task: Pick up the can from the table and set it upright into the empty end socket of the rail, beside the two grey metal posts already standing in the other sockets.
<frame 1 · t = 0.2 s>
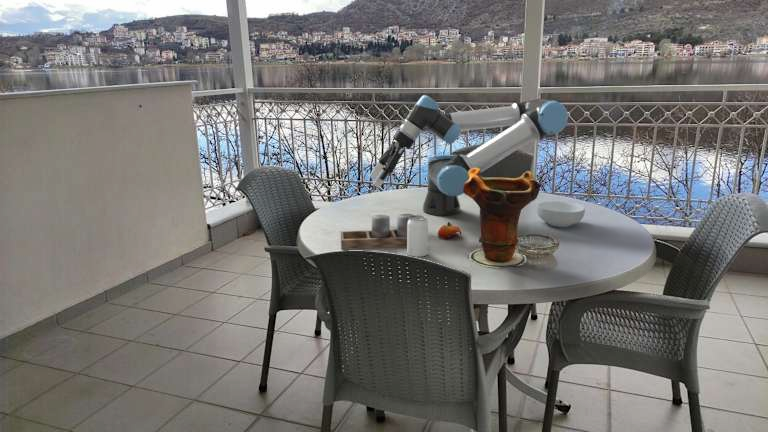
hand: (373, 182, 196), 16 cm above the table, tool tilted 35°, fingers open, 13 cm apart
cereal bowl: (559, 224, 198), on the table
tomato: (449, 237, 184), on the table
can: (417, 254, 167), on the table
decorative vase: (496, 258, 164), on the table
socket rail: (380, 242, 178), on the table
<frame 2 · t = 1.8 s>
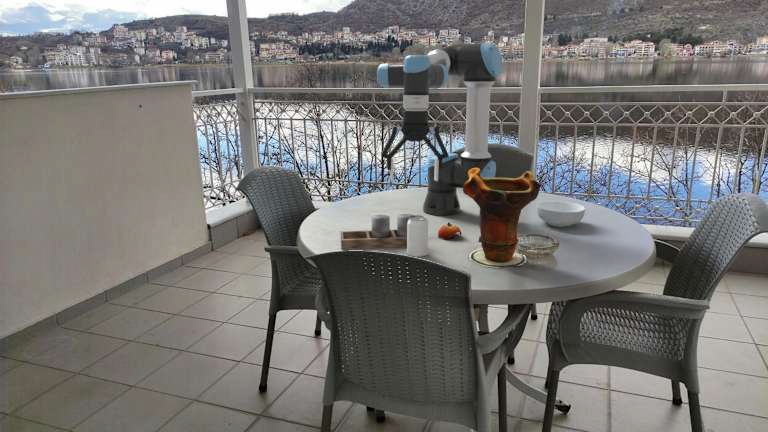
hand: (414, 180, 162), 24 cm above the table, tool pointing down, fingers open, 13 cm apart
nothing on the table moved.
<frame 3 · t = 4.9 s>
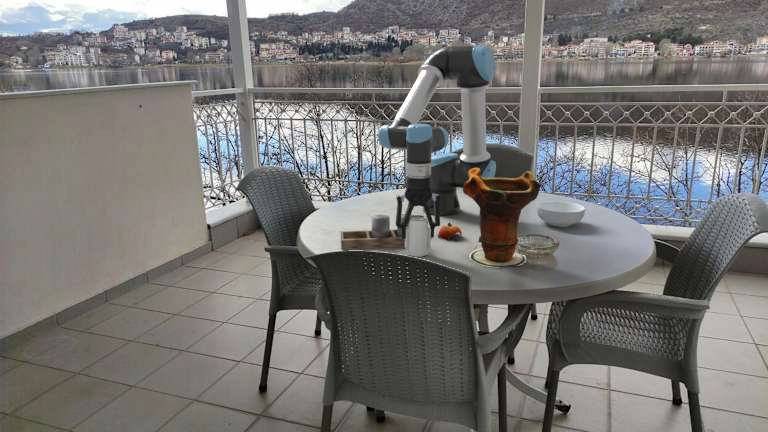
hand: (417, 247, 167), 2 cm above the table, tool pointing down, fingers closed on can, 6 cm apart
can: (417, 254, 167), on the table, touching gripper
everything else where it was.
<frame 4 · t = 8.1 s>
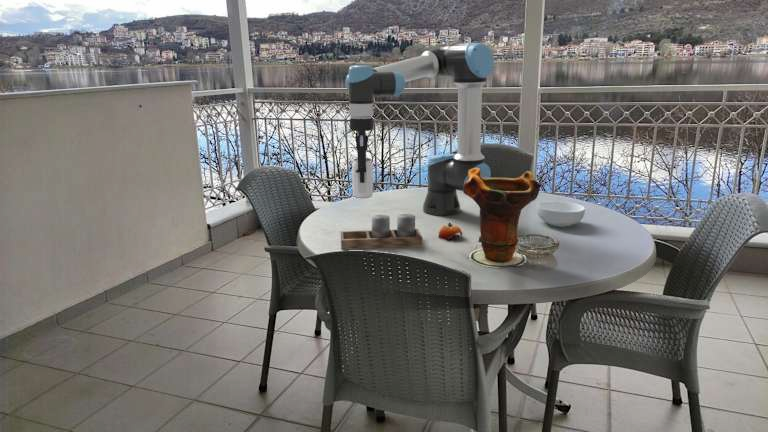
hand: (362, 189, 170), 19 cm above the table, tool pointing down, fingers closed on can, 6 cm apart
can: (362, 196, 171), point 17 cm above the table, touching gripper
everything else where it was.
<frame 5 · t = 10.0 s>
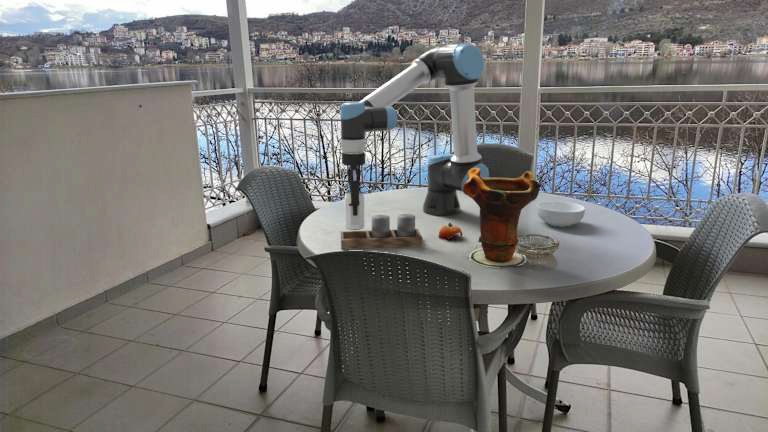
hand: (354, 221, 175), 8 cm above the table, tool pointing down, fingers closed on can, 6 cm apart
can: (354, 228, 175), point 6 cm above the table, touching gripper
everything else where it was.
when the fingers open (5 cm above the table, at t = 11.3 s): can drops 1 cm, resting on socket rail.
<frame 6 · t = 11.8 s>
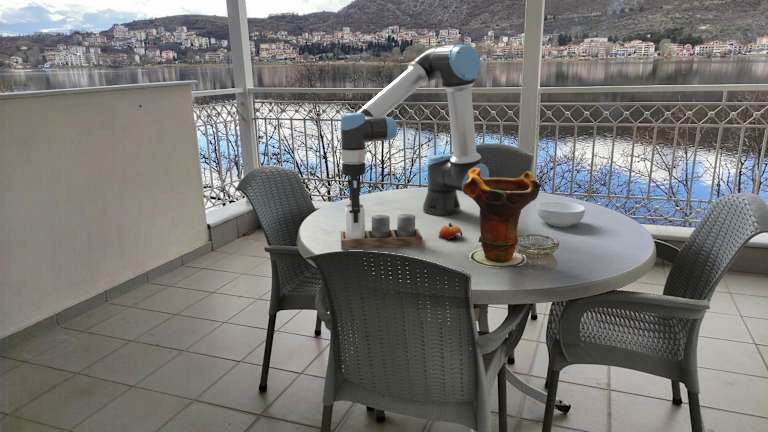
hand: (354, 225, 175), 6 cm above the table, tool pointing down, fingers open, 13 cm apart
can: (355, 241, 177), point 1 cm above the table, touching socket rail
everything else where it was.
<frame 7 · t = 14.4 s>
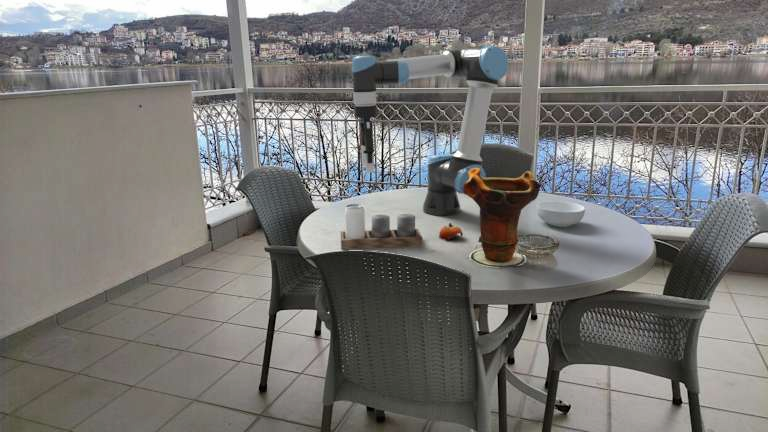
hand: (368, 168, 180), 24 cm above the table, tool pointing down, fingers open, 13 cm apart
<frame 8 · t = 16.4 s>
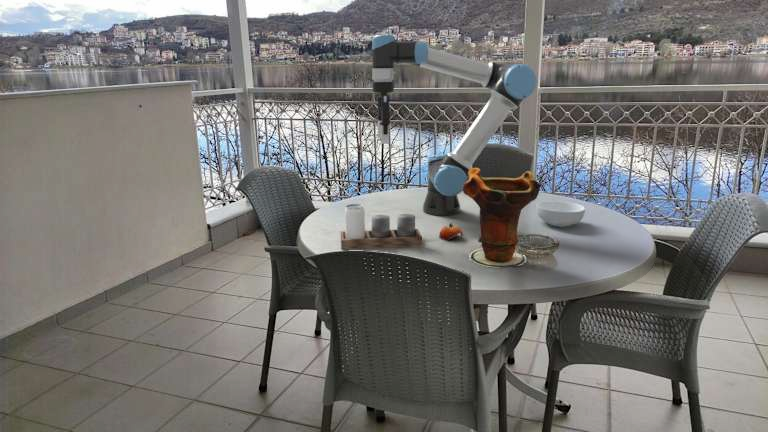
hand: (383, 140, 193), 31 cm above the table, tool pointing down, fingers open, 13 cm apart
at the end: can 0.1 cm from the target spot on the socket rail, point 0.8 cm above the socket rail's base; can tilted 0°; the gripper is holding nothing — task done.
